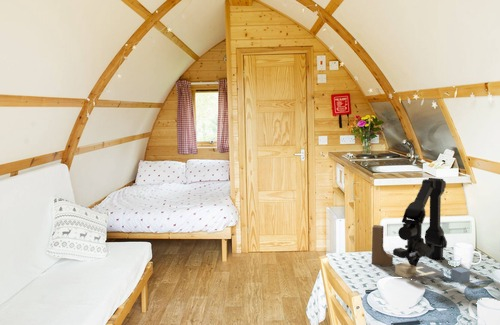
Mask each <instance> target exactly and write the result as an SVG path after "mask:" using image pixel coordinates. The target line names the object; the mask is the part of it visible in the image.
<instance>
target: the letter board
mask: <svg viewBox="0 0 500 325" xmlns="http://www.w3.org/2000/svg"><path fill="white" fill-rule="evenodd" d="M389 269H390V270H392V271H394V272H395V266H394V267H392V266H391V267H389ZM443 272H444V271H442V270H439V269H437V268H435V267H432V266H430V265H426V264H425V263H422V262H419V261H418V263H417V266H416V275H415V276H411V277H408V278H410V279H411V278H412V280H413V279H415V280H414V281H416V280H417V281H416V282H418V281H419V282H418V283H420V282H424V281H429V280H433V279H438V278H443V277H445V276H444V275H443Z"/></svg>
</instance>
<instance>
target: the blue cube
mask: <svg viewBox="0 0 500 325" xmlns="http://www.w3.org/2000/svg"><path fill="white" fill-rule="evenodd" d="M450 270H451V271H450V272H451V273H450V279H451V281H455V282H456V283H459V284H463V283H469V282H470V281H471V280H470V278H471V270H468V269H466V268H464V267H461V266H459V267H458V266H457V267H453V268H451V269H450Z"/></svg>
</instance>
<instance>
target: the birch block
mask: <svg viewBox="0 0 500 325" xmlns="http://www.w3.org/2000/svg"><path fill="white" fill-rule="evenodd" d="M394 267H395V271H394V272H395V274H396V275H398V276H400V277H403V278H405V277H407V278H409V277H411V276H415V275H416V266H414V265H411V264H409V262H405V261H404V262H401V263H397V264H395V266H394Z"/></svg>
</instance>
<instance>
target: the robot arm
mask: <svg viewBox="0 0 500 325" xmlns="http://www.w3.org/2000/svg"><path fill="white" fill-rule="evenodd" d="M446 185H447V182H446V181H445V180H444V178H437V177H428V178H425V179H422V182H421V187H420V189H419V190H418V193H417V194H416V197H415V199H414V200H413V201H412V202H410V203H409V204H408V205H407V207H406V208H405V210H404V214H403V216H402V220H401V223H402V226H401V227H400V228H399V229H398V231H397V234H398V236H399V238H400V239H401V240H403V241H407V242H406V244H405V245H404V248H403V247H398V248H397V247H396V248H394V249H393V250H392V255H393V256H395V257H398V258H401V259H407V263H409V264H411V265H414V266H417V263H419V261H420V259H421V258H425V257H426V258H428V259H430V260H432V261H433V260H434V261H441V260H442V261H443V260H446V257H444V249H446V248H448V247H447V246H448V241H447V238H446V236H445V233H444V229H443V228H442V226H441V208H442V207H441V202H442V200H441V199H442V196H443V194H444V192H445V191H446V190H445V189H446V187H447V186H446ZM428 200H429V226H428V227H427V229H426V230H425V233H424V237H422V231H423V230H422V226H423V225H422V224H423V223H424V221H425V217H426V215H427V214H426V209H425V208H426V205H427V202H428Z"/></svg>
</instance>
